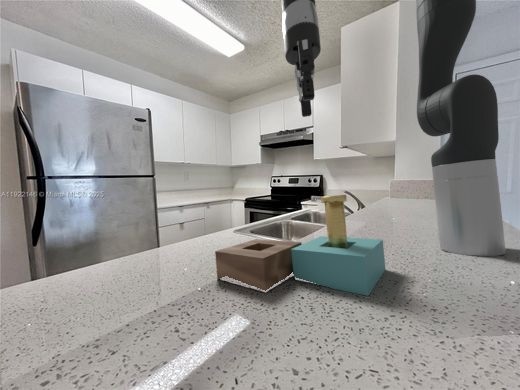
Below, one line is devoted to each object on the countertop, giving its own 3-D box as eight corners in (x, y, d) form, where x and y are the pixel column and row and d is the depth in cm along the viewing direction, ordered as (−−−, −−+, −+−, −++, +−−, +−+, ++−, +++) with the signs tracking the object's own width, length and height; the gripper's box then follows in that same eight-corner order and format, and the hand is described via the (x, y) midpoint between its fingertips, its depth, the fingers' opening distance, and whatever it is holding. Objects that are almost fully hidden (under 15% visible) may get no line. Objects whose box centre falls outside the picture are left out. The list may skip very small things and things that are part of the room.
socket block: (323, 261, 43) (320, 236, 43) (385, 269, 36) (382, 239, 36) (294, 280, 34) (291, 249, 35) (368, 295, 27) (364, 256, 27)
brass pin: (333, 269, 38) (326, 196, 38) (357, 273, 35) (349, 194, 35) (323, 277, 35) (316, 197, 35) (349, 281, 32) (341, 195, 32)
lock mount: (258, 262, 46) (256, 238, 46) (303, 269, 39) (301, 242, 39) (217, 279, 38) (215, 251, 38) (265, 293, 30) (262, 258, 31)
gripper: (322, 0, 39) (331, 89, 38) (315, 52, 53) (322, 118, 52) (281, 10, 40) (289, 96, 40) (285, 58, 54) (291, 122, 54)
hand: (307, 108), depth 46 cm, fingers open, 8 cm apart
